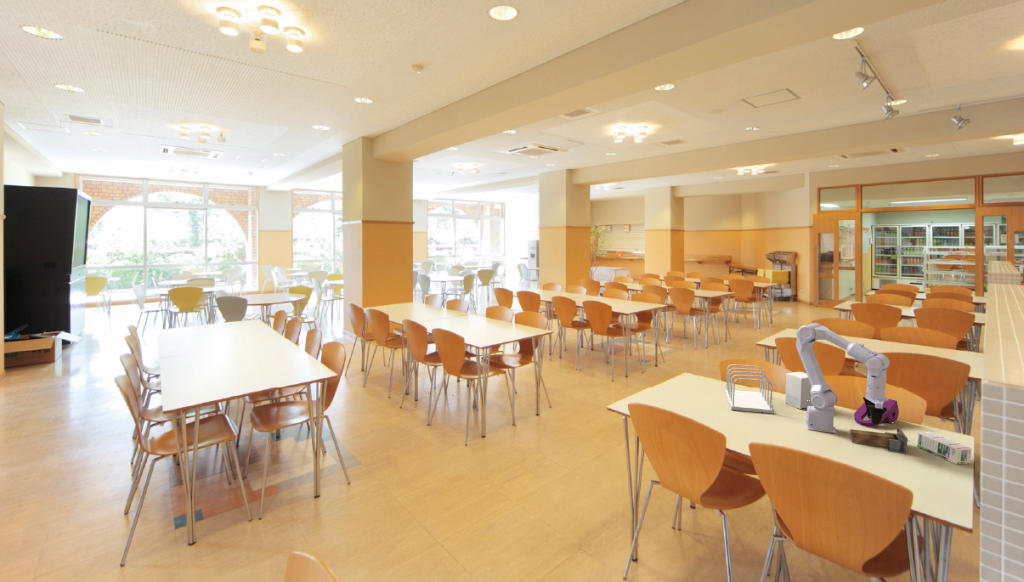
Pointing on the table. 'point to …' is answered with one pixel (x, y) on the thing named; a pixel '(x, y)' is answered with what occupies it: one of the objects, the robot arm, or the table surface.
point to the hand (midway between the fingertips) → (873, 420)
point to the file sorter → (748, 393)
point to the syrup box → (944, 447)
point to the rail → (871, 438)
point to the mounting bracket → (888, 416)
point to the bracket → (898, 442)
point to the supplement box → (798, 390)
